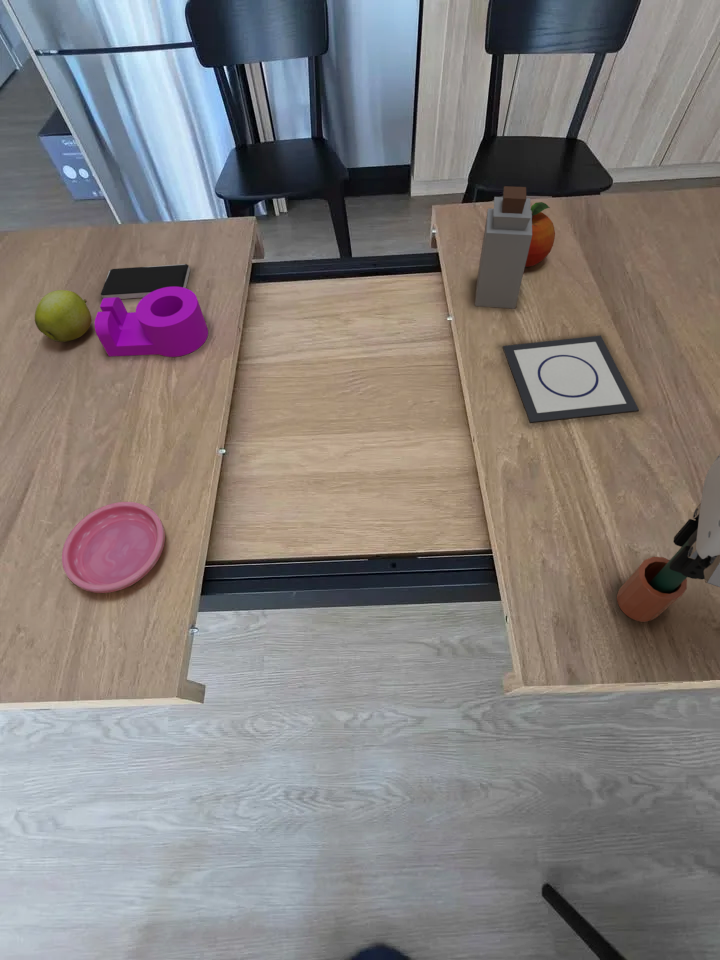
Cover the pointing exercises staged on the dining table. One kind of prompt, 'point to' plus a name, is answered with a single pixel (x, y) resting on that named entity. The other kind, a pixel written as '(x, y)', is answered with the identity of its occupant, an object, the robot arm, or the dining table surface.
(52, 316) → the apple
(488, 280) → the perfume bottle
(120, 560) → the saucer
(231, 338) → the dining table surface
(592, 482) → the dining table surface
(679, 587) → the pen pot
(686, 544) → the marker
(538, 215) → the fruit
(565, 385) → the target board
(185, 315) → the tape dispenser
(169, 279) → the smartphone
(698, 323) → the dining table surface
